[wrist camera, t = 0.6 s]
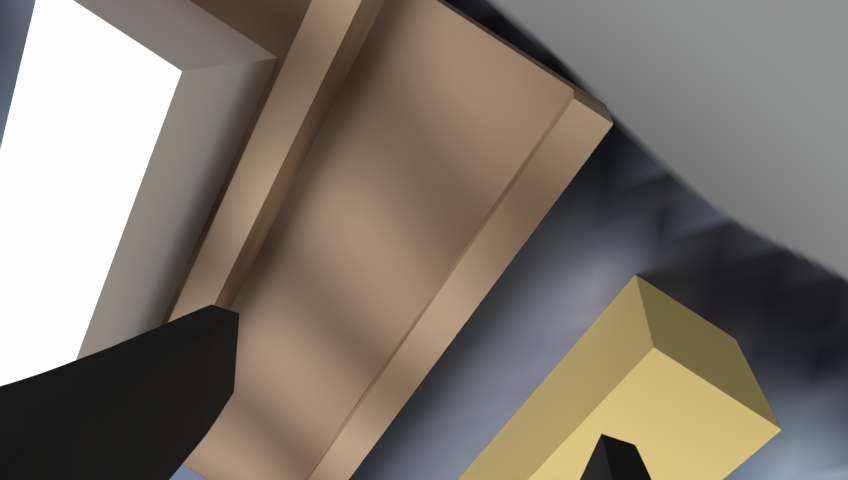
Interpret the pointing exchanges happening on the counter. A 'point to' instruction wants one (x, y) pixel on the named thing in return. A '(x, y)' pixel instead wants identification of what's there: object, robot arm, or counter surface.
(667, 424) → the pale yellow bar
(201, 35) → the white bar
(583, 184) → the counter surface
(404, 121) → the slot board
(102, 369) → the robot arm
